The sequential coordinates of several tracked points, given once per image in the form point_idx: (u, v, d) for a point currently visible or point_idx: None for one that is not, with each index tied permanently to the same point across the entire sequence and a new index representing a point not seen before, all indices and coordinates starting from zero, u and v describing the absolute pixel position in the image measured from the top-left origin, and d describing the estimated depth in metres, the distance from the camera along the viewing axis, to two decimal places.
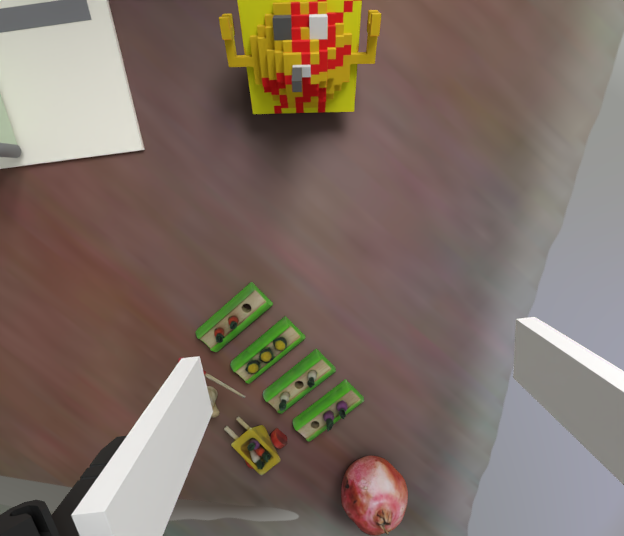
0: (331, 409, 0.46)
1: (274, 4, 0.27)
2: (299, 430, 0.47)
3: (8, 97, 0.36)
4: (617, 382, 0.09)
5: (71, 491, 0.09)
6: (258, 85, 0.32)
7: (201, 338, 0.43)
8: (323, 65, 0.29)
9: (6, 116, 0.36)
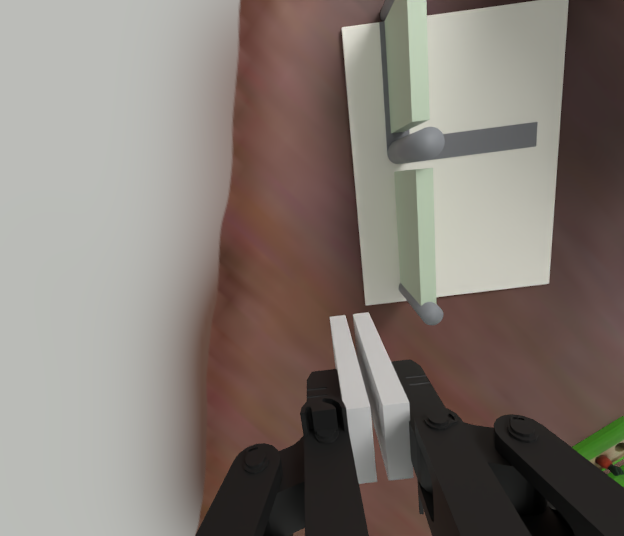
0: None
1: None
2: None
3: None
4: (374, 362, 0.11)
5: None
6: None
7: None
8: None
9: None
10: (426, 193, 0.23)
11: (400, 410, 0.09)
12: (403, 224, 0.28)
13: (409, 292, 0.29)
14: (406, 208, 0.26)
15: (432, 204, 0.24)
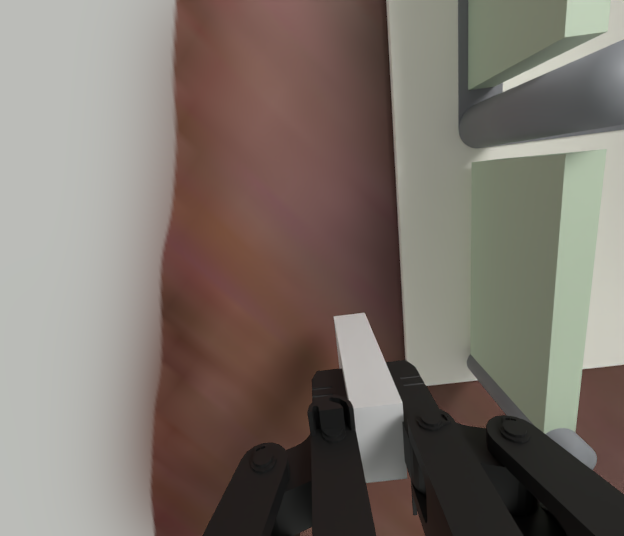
0: None
1: None
2: None
3: None
4: (369, 362, 0.11)
5: None
6: None
7: None
8: None
9: None
10: (583, 208, 0.10)
11: (393, 411, 0.09)
12: (492, 262, 0.15)
13: (499, 386, 0.16)
14: (509, 233, 0.13)
15: (594, 232, 0.10)
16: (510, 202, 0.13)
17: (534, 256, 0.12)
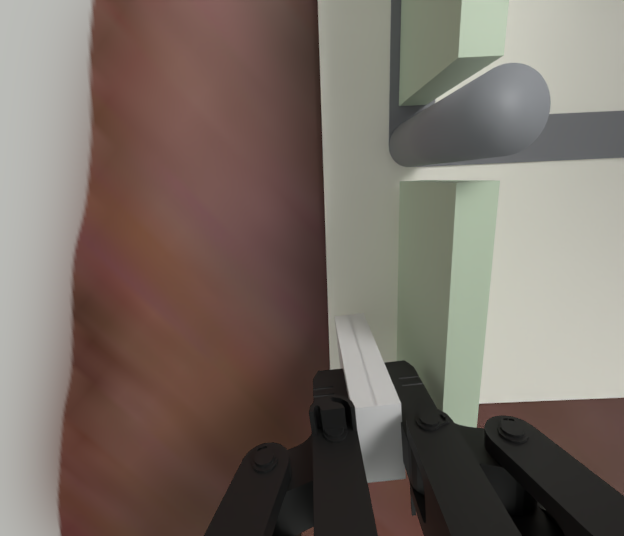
0: None
1: None
2: None
3: None
4: (367, 363, 0.11)
5: None
6: None
7: None
8: None
9: None
10: (476, 241, 0.10)
11: (392, 411, 0.09)
12: (410, 287, 0.14)
13: None
14: (421, 260, 0.13)
15: (488, 268, 0.10)
16: (422, 227, 0.12)
17: (435, 287, 0.11)
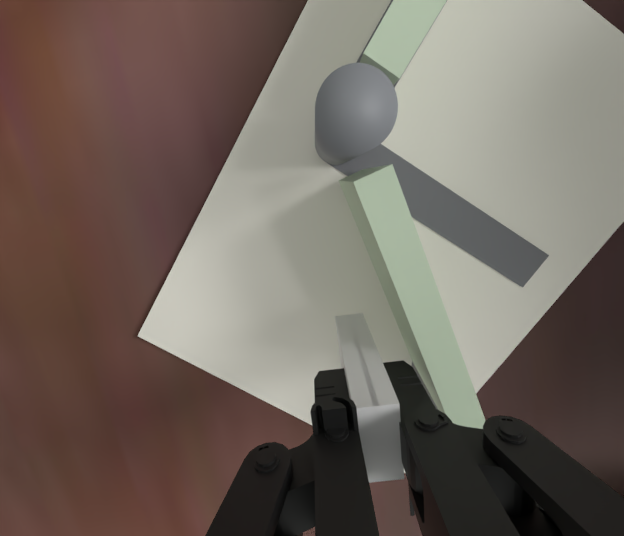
0: None
1: None
2: None
3: (279, 275, 0.17)
4: (366, 363, 0.11)
5: None
6: None
7: None
8: None
9: None
10: (396, 226, 0.10)
11: (390, 411, 0.09)
12: (380, 276, 0.14)
13: (431, 395, 0.15)
14: (373, 251, 0.13)
15: (418, 245, 0.10)
16: (361, 222, 0.12)
17: (386, 275, 0.11)
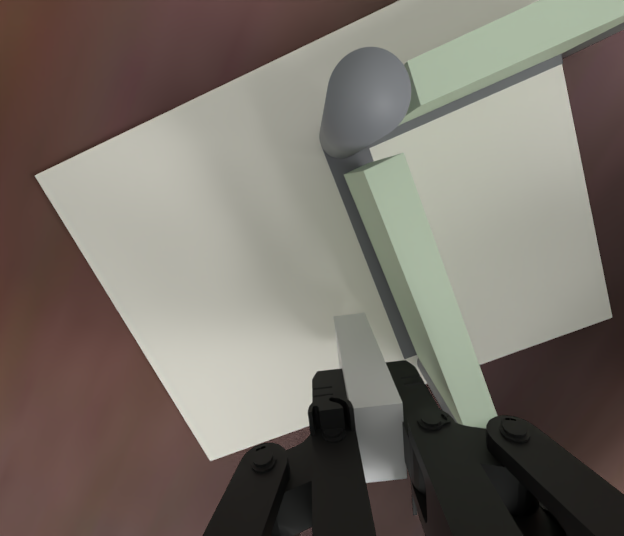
0: None
1: None
2: None
3: (214, 214, 0.16)
4: (369, 362, 0.11)
5: None
6: None
7: None
8: None
9: None
10: (407, 215, 0.10)
11: (393, 411, 0.09)
12: (387, 270, 0.14)
13: (438, 391, 0.15)
14: (380, 244, 0.13)
15: (429, 235, 0.10)
16: (368, 214, 0.12)
17: (396, 267, 0.11)
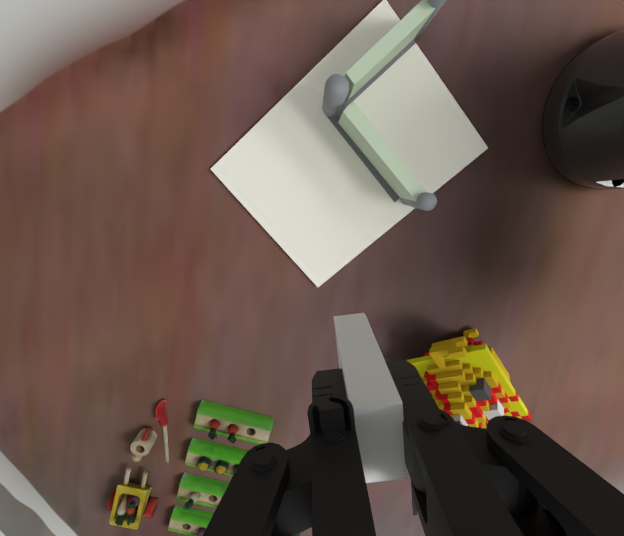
0: None
1: (491, 376, 0.34)
2: (172, 519, 0.48)
3: (287, 160, 0.36)
4: (369, 362, 0.11)
5: None
6: (425, 367, 0.38)
7: (198, 413, 0.43)
8: None
9: None
10: (361, 121, 0.29)
11: (393, 411, 0.09)
12: (368, 154, 0.33)
13: (407, 199, 0.33)
14: (360, 141, 0.31)
15: (371, 125, 0.29)
16: (351, 131, 0.31)
17: (366, 144, 0.30)
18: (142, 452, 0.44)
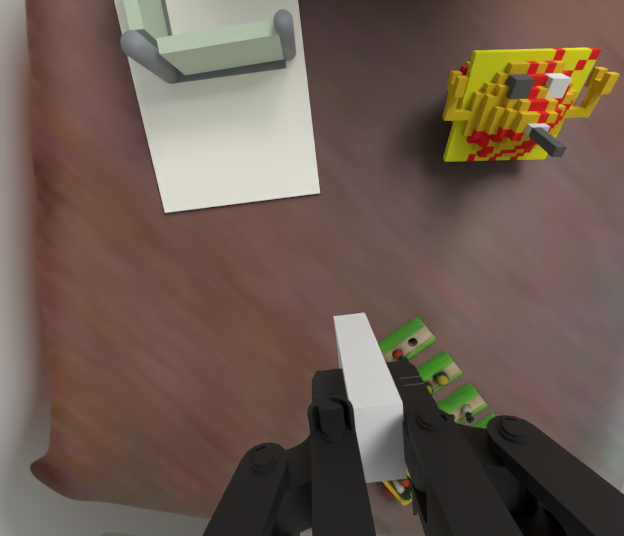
0: None
1: (513, 64, 0.28)
2: None
3: (193, 143, 0.36)
4: (369, 362, 0.11)
5: None
6: (461, 136, 0.33)
7: None
8: None
9: None
10: (177, 41, 0.28)
11: (393, 411, 0.09)
12: (222, 61, 0.32)
13: (281, 48, 0.31)
14: (202, 59, 0.31)
15: (185, 34, 0.28)
16: (189, 62, 0.31)
17: (203, 52, 0.29)
18: None
